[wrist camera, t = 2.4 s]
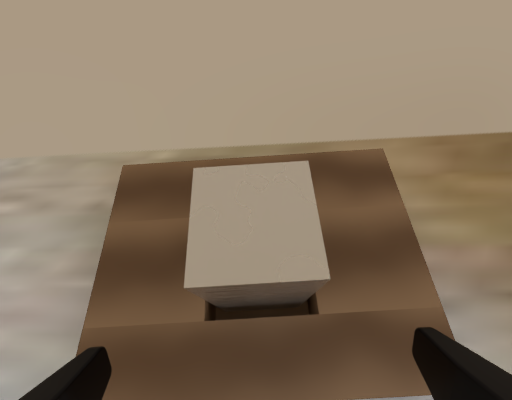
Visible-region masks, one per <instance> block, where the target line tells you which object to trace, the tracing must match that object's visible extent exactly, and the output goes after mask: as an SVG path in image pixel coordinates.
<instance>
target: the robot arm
mask: <svg viewBox="0 0 512 400" xmlns="http://www.w3.org/2000/svg"><path fill="white" fill-rule="evenodd" d="M412 354H413V357H414V360H415V362H416V364H417V366H418V368H419V370H420V372H421V374H422V376H423V378H424V380H425V382H426V384H427V387H428V389H429V391H430V393H431V395H432V397H433V399H434V400H512V375H511V374H509V373H508V372H506V371H504V370H503V369H501V368H499V367H498V366H496V365H494V364H493V363H491V362H489V361H488V360H486V359H484V358H483V357H481V356H479V355H478V354H476V353H474V352H473V351H471V350H469V349H468V348H466V347H464V346H463V345H461V344H459V343H458V342H456V341H454V340H453V339H451V338H449V337H448V336H446V335H444V334H443V333H441V332H439V331H438V330H436V329H434V328H432V327H418V328H416V329H415V332H414V338H413V345H412ZM111 372H112V367H111V363H110V360H109V356H108V353H107V350H106V348H105V347H103V346H98V347H89V348H87V349H86V350H85V351H83V352H82V353H81V354H79V355H78V356H76V357H75V358H74V359H72V360H71V361H70V362H68V363H67V364H66V365H64V366H63V367H62V368H60V369H59V370H58V371H56V372H55V373H54V374H52V375H51V376H50V377H48V378H47V379H46V380H44V381H43V382H42V383H40V384H39V385H38V386H36V387H35V388H33V389H32V390H31V391H29V392H28V393H27V394H25V395H24V396H23V397H21V398H20V399H19V400H102V398H103V396H104V393H105V390H106V388H107V385H108V382H109V380H110V377H111Z"/></svg>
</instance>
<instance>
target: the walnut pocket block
mask: <svg viewBox="0 0 512 400" xmlns="http://www.w3.org/2000/svg"><path fill="white" fill-rule="evenodd" d="M295 161H308V162H309V167H310V173H311V178H312V183H313V188H314V194H315V199H316V204H317V210H318V215H319V220H320V226H321V231H322V236H323V241H324V247H325V252H326V257H327V263H328V268H329V273H330V280H329V281H328V282H327V283H326V284H324V285H323V286H322V287H321V288H320V289H319V290H317V291H316V292H315V293H314V294H313V295H312V296H311V297H309V298H308V299H307V300H306V301H305V302H304V303H302V304H301V305H300V306H299V307H296V308H280V309H263V310H247V311H230V312H225V311H224V310H222V309H220V308H218V307H216V306H215V305H213V304H211V303H209V302H208V301H206V300H204V299H202V298H200V297H199V296H197V295H195V294H193V293H192V292H190V291H188V290H186V289H184V279H185V266H186V254H187V242H188V229H189V217H190V205H191V193H192V180H193V168H202V167H217V166H233V165H248V164H264V163H279V162H295ZM418 327H432V328H434V329H436V330H438V331H439V332H441V333H443V334H444V335H446V336H448V337H449V338H451V339H453V340H454V341H455V339H454V337H453V334H452V331H451V329H450V326H449V323H448V321H447V318H446V315H445V313H444V310H443V307H442V305H441V302H440V299H439V297H438V294H437V291H436V289H435V286H434V283H433V281H432V278H431V275H430V273H429V270H428V267H427V265H426V262H425V259H424V257H423V254H422V251H421V249H420V246H419V243H418V241H417V238H416V235H415V233H414V230H413V227H412V225H411V222H410V220H409V217H408V214H407V212H406V209H405V206H404V204H403V201H402V198H401V196H400V193H399V190H398V188H397V185H396V182H395V180H394V177H393V174H392V172H391V169H390V166H389V164H388V161H387V158H386V156H385V153H384V150H383V149H368V150H353V151H337V152H322V153H307V154H291V155H276V156H260V157H245V158H230V159H214V160H199V161H183V162H168V163H152V164H137V165H123V167H122V171H121V176H120V180H119V184H118V188H117V192H116V196H115V200H114V204H113V208H112V212H111V216H110V220H109V224H108V228H107V232H106V236H105V240H104V244H103V248H102V253H101V257H100V261H99V265H98V269H97V273H96V277H95V281H94V285H93V289H92V293H91V297H90V301H89V305H88V309H87V313H86V317H85V321H84V325H83V329H82V334H81V338H80V342H79V346H78V350H77V354H76V356H78V355H79V354H81V353H82V352H83V351H85V350H86V349H87V348H89V347H98V346H103V347H105V348H106V350H107V353H108V356H109V360H110V363H111V367H112V372H111V377H110V380H109V382H108V385H107V388H106V390H105V393H104V396H103V398H102V400H352V399H370V398H387V397H405V396H422V395H431V393H430V391H429V389H428V387H427V384H426V382H425V380H424V378H423V376H422V374H421V372H420V370H419V368H418V366H417V364H416V362H415V360H414V357H413V354H412V345H413V338H414V332H415V329H416V328H418Z"/></svg>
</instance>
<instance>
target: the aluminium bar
mask: <svg viewBox="0 0 512 400" xmlns="http://www.w3.org/2000/svg"><path fill="white" fill-rule="evenodd" d="M329 280H330V273H329V268H328V263H327V257H326V252H325V247H324V241H323V236H322V231H321V226H320V220H319V215H318V210H317V204H316V199H315V194H314V188H313V183H312V178H311V173H310V167H309V162H308V161H295V162H279V163H264V164H248V165H233V166H217V167H202V168H193V180H192V193H191V205H190V217H189V229H188V242H187V254H186V266H185V279H184V289H186V290H188V291H190V292H192V293H193V294H195V295H197V296H199V297H200V298H202V299H204V300H206V301H208V302H209V303H211V304H213V305H215V306H216V307H218V308H220V309H222V310H224V311H225V312H230V311H247V310H263V309H280V308H296V307H299V306H300V305H301V304H302V303H304V302H305V301H306V300H307V299H308V298H309V297H311V296H312V295H313V294H314V293H315V292H316V291H317V290H319V289H320V288H321V287H322V286H323V285H324V284H326V283H327V282H328V281H329Z"/></svg>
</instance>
